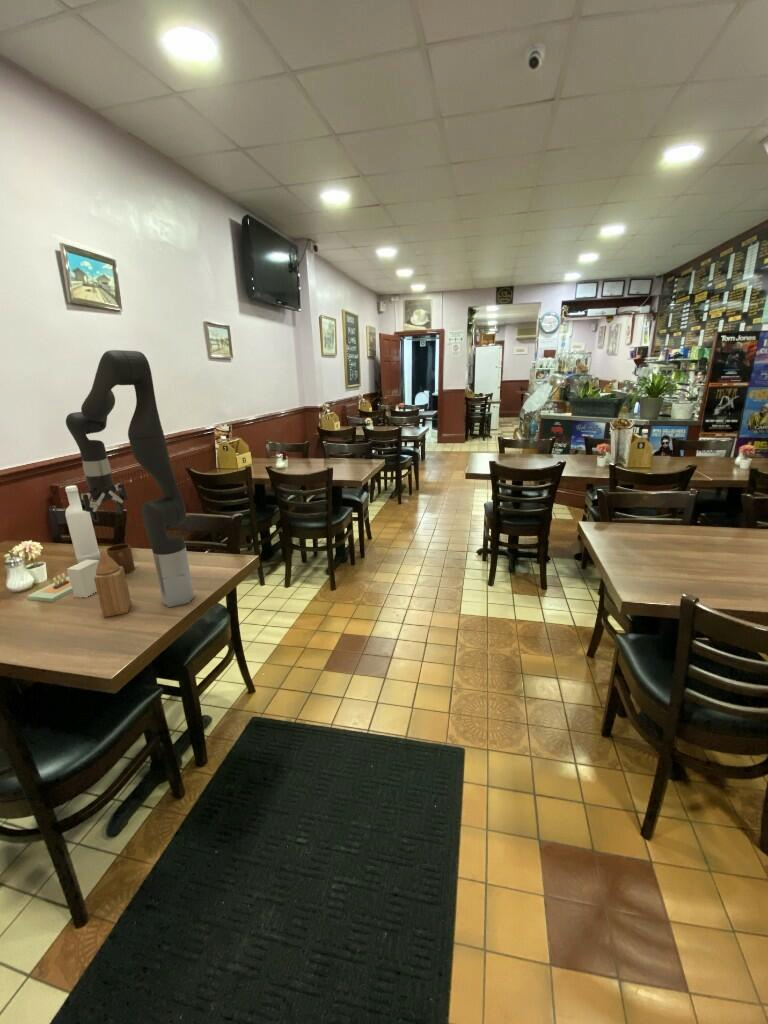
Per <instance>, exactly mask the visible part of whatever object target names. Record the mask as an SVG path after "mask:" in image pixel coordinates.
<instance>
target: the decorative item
mask: <svg viewBox="0 0 768 1024" xmlns="http://www.w3.org/2000/svg"><path fill="white" fill-rule="evenodd" d="M100 557H101V558H100V559H99V563H98V566H97V569H96V575H95V577H94V581H95V585H96V589H97V592H96V593H97V596H98V600H99V604H100V608H101V612H102V615H103V617H105V618H108V617H113V616H118V615H124V614H128V612H129V611H130V607H131V605H132V600H131V596H130V591H129V586H128V582H127V578H126V574H125V572H124V568H123V566H119V565H118V564H117V563H116V562H115V561H114V560H113V559H112V558H111V557H110V556H109V555H108V554H107V551H104V550H102V552H101V554H100Z"/></svg>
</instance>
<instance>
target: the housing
mask: <svg viewBox="0 0 768 1024" xmlns="http://www.w3.org/2000/svg"><path fill="white" fill-rule="evenodd" d="M99 561H100V559H99V560H85V561H83V562H80V563H78V562H77V563H76V564H75V565H72V566H70V567H68V568H66V572H67V574H68V575H67V576H69V579H70V583H71V587H72V590H73V591H72V594H73V597H74V598H82V597H85V598H84V599H87V598H89V597H90V595H91V596H93V595H94V594H96V593H97V589H96V585H95V581H94V577H95V575H96V569H97V566H98V563H99ZM95 592H96V593H95ZM93 593H94V594H93ZM88 596H89V597H88Z"/></svg>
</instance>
